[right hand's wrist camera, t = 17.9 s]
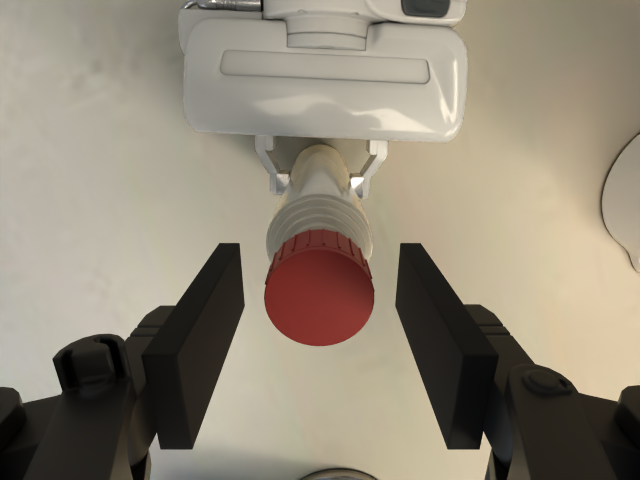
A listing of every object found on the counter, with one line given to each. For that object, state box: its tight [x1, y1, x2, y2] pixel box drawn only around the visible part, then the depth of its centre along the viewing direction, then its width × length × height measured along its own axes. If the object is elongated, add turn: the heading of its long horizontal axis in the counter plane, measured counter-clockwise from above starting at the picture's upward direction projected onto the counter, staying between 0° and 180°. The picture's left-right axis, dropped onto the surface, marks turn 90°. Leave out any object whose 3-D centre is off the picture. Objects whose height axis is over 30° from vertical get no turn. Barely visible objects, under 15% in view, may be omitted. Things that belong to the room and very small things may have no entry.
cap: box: [264, 229, 374, 346], centre depth 14 cm, size 4×4×2 cm
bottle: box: [266, 144, 373, 264], centre depth 24 cm, size 5×5×24 cm
